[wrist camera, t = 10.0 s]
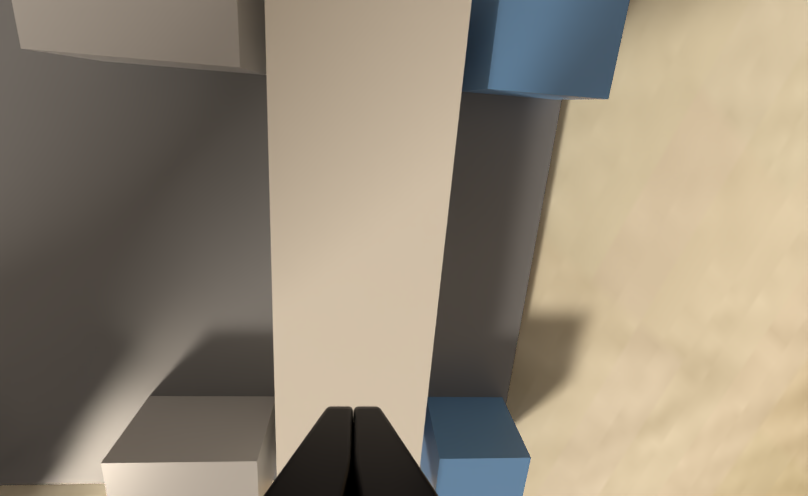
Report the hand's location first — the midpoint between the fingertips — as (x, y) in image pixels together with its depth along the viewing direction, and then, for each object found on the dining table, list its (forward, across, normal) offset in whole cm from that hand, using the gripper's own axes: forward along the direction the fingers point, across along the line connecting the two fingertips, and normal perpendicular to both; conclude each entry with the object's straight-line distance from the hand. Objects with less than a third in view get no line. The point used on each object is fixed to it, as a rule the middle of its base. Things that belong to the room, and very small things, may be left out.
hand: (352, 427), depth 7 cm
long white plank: (+8, 0, 0) cm, 8 cm away
